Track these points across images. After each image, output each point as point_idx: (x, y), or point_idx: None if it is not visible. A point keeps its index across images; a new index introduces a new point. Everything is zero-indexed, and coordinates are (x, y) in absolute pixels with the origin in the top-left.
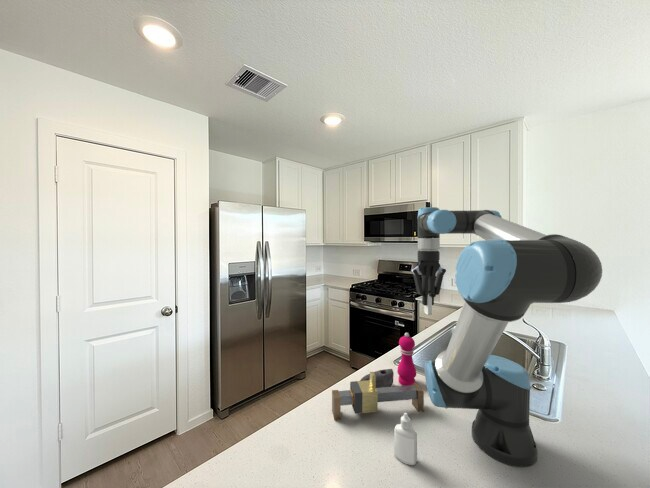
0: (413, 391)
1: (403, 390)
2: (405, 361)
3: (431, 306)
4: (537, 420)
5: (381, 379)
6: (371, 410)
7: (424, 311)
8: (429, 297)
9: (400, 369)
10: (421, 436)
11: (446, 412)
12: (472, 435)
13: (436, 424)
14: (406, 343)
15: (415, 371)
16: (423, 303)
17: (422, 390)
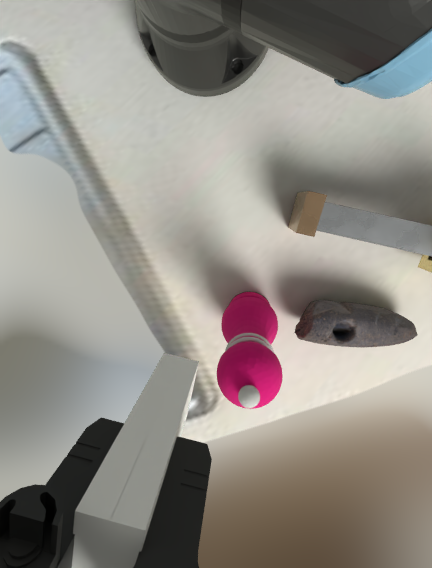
0: (335, 204)
1: (367, 215)
2: (264, 331)
3: (140, 402)
4: (51, 61)
5: (359, 312)
6: None
7: (185, 420)
8: (120, 519)
9: (276, 327)
10: (374, 114)
11: (244, 168)
12: (261, 60)
13: (304, 138)
14: (270, 359)
15: (234, 306)
16: (208, 475)
17: (310, 193)
